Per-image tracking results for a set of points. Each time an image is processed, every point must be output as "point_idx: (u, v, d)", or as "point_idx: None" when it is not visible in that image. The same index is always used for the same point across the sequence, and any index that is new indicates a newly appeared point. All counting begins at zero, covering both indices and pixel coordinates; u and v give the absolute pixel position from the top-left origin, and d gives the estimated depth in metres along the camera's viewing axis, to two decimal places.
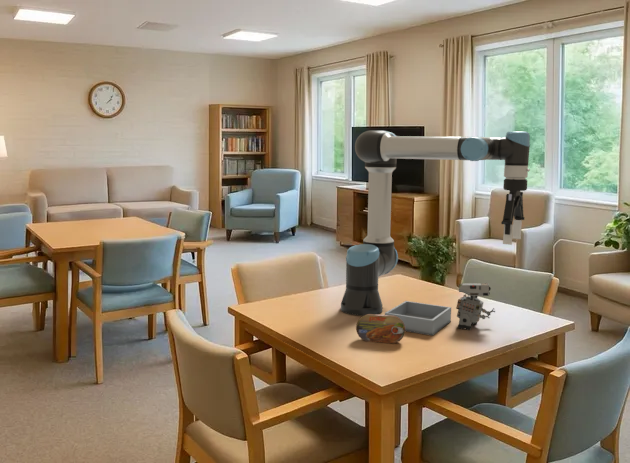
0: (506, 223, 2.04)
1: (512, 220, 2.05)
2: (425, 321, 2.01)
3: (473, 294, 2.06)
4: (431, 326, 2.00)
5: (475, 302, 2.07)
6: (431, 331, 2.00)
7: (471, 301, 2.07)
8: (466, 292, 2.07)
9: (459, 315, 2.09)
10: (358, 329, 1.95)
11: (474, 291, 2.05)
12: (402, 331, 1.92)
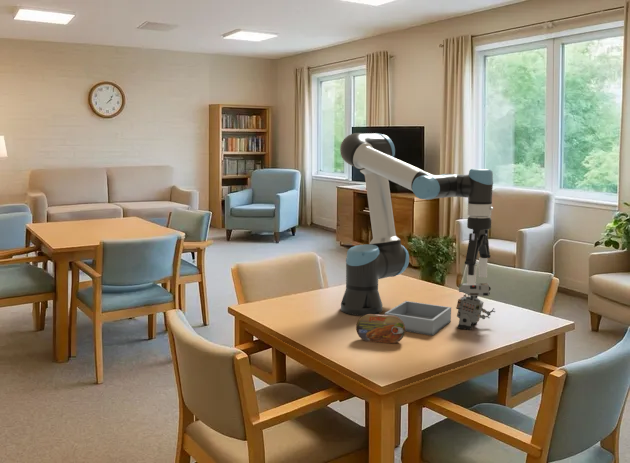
0: (469, 264, 1.99)
1: (475, 260, 2.00)
2: (425, 321, 2.01)
3: (473, 294, 2.06)
4: (431, 326, 2.00)
5: (475, 302, 2.07)
6: (431, 331, 2.00)
7: (471, 301, 2.07)
8: (466, 292, 2.07)
9: (459, 315, 2.09)
10: (358, 329, 1.95)
11: (475, 291, 2.05)
12: (402, 331, 1.92)
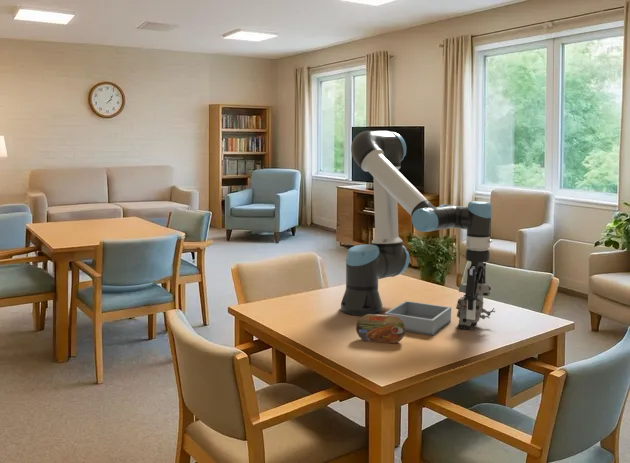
0: (469, 299, 2.02)
1: (475, 295, 2.04)
2: (425, 321, 2.01)
3: None
4: (431, 326, 2.00)
5: None
6: (431, 331, 2.00)
7: None
8: None
9: (459, 315, 2.09)
10: (358, 329, 1.95)
11: None
12: (402, 331, 1.92)
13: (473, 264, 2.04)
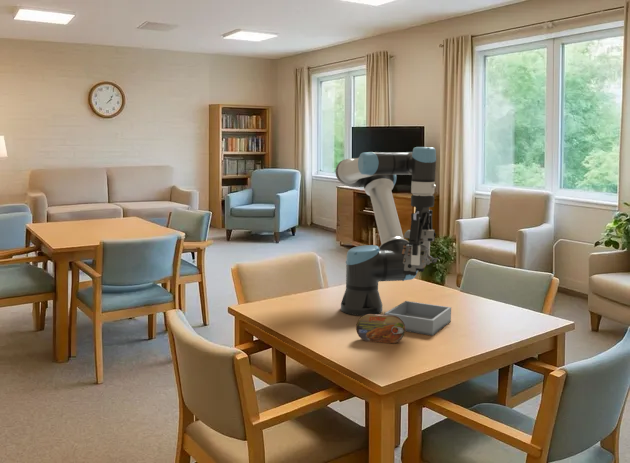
0: (413, 244, 2.02)
1: (419, 240, 2.03)
2: (425, 321, 2.01)
3: None
4: (431, 326, 2.00)
5: (420, 248, 2.06)
6: (431, 331, 2.00)
7: None
8: None
9: (405, 261, 2.08)
10: (358, 329, 1.95)
11: None
12: (402, 331, 1.92)
13: (417, 209, 2.04)
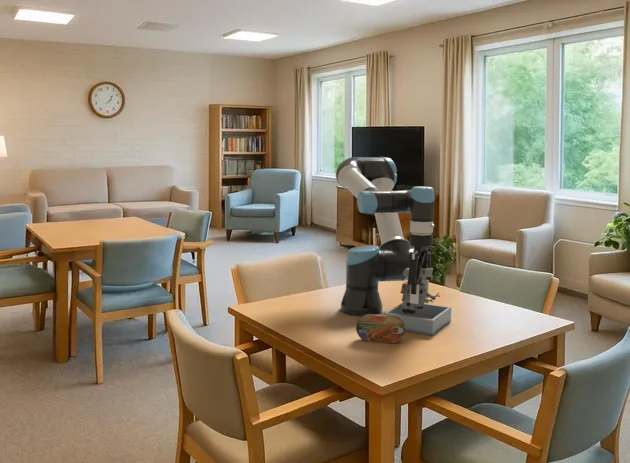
0: (411, 283, 2.04)
1: (418, 279, 2.05)
2: (425, 321, 2.01)
3: None
4: (431, 326, 2.00)
5: (419, 286, 2.08)
6: (431, 331, 2.00)
7: None
8: None
9: (403, 299, 2.10)
10: (358, 329, 1.95)
11: None
12: (402, 331, 1.92)
13: (416, 248, 2.05)
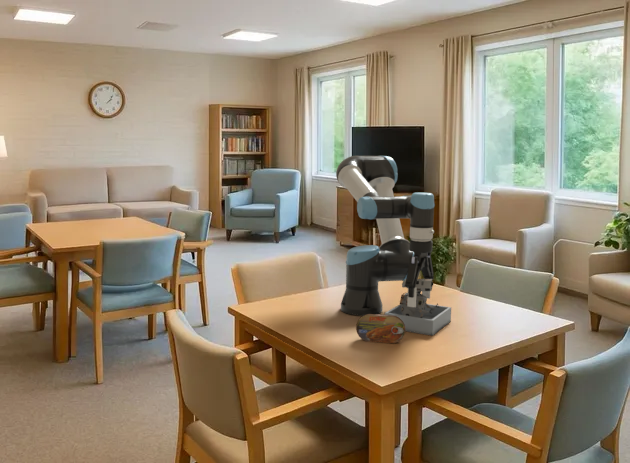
0: (409, 286, 2.02)
1: (415, 283, 2.04)
2: (425, 321, 2.01)
3: None
4: (431, 326, 2.00)
5: (418, 297, 2.09)
6: (431, 331, 2.00)
7: None
8: None
9: (402, 310, 2.11)
10: (358, 329, 1.95)
11: (417, 287, 2.07)
12: (402, 331, 1.92)
13: (416, 254, 2.06)
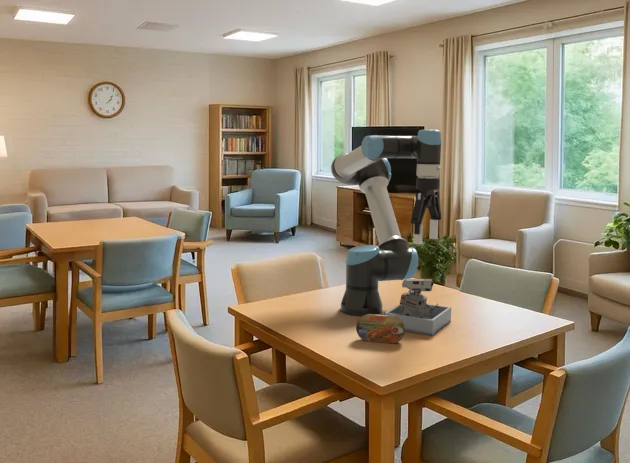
0: (415, 223, 2.01)
1: (421, 220, 2.02)
2: (425, 321, 2.01)
3: (415, 289, 2.08)
4: (431, 326, 2.00)
5: (418, 297, 2.09)
6: (431, 331, 2.00)
7: (414, 296, 2.09)
8: (409, 287, 2.09)
9: (402, 310, 2.11)
10: (358, 329, 1.95)
11: (417, 287, 2.07)
12: (402, 331, 1.92)
13: (423, 191, 2.04)
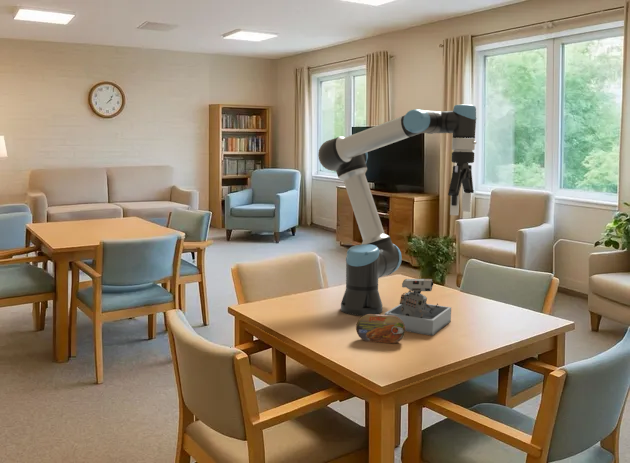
0: (452, 194, 2.08)
1: (458, 191, 2.09)
2: (425, 321, 2.01)
3: (415, 289, 2.08)
4: (431, 326, 2.00)
5: (418, 297, 2.09)
6: (431, 331, 2.00)
7: (414, 296, 2.09)
8: (409, 287, 2.09)
9: (402, 310, 2.11)
10: (358, 329, 1.95)
11: (417, 287, 2.07)
12: (402, 331, 1.92)
13: (459, 164, 2.12)
